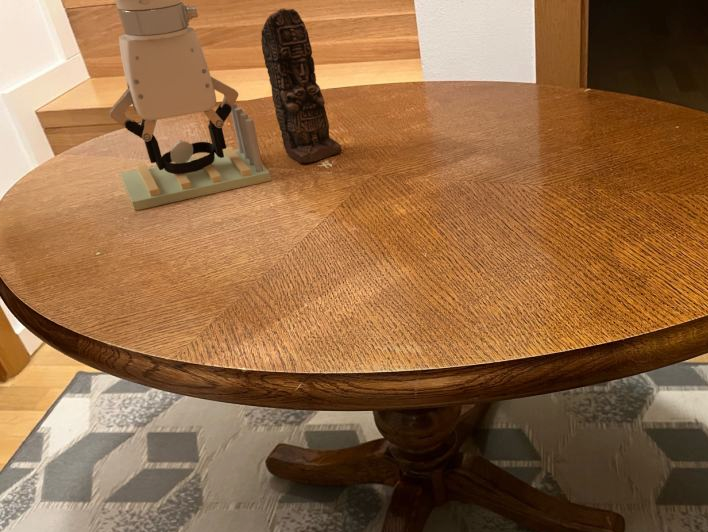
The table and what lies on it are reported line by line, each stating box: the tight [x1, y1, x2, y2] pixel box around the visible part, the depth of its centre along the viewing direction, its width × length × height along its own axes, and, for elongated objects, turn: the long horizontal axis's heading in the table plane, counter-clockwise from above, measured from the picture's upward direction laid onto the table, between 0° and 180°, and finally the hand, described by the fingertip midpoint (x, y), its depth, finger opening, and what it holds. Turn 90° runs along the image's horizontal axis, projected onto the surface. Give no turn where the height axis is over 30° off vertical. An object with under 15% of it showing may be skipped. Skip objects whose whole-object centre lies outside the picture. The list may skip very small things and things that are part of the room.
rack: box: [119, 102, 272, 212], centre depth 99 cm, size 18×12×8 cm, turn 118°
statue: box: [260, 8, 342, 164], centre depth 103 cm, size 7×7×20 cm
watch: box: [161, 139, 216, 174], centre depth 99 cm, size 8×5×4 cm, turn 143°
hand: (190, 159), depth 100 cm, fingers closed on watch, 7 cm apart
